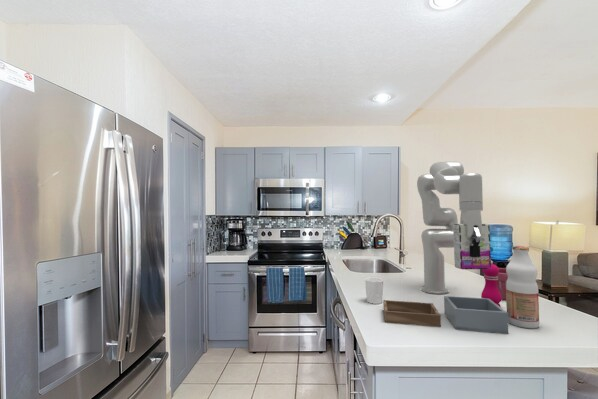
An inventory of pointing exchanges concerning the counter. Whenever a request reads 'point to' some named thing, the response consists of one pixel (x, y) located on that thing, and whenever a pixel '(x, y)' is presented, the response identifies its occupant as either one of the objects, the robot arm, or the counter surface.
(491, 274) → the pepper mill
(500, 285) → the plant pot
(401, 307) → the wooden rectangular frame
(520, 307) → the fruit juice
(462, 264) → the snack bar box
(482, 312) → the slate bin
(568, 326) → the counter surface
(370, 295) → the white cup
